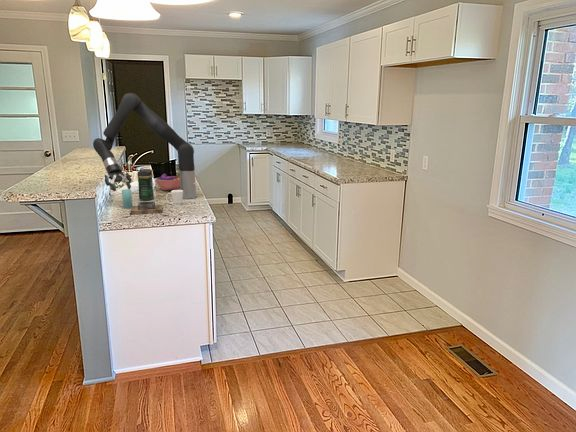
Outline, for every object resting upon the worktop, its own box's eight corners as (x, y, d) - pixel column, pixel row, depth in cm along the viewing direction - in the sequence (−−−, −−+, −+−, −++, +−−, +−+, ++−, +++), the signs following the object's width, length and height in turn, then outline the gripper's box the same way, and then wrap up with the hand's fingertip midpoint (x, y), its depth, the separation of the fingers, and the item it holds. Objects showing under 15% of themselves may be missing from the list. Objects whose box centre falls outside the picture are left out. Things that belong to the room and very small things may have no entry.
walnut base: (162, 207, 247) (162, 200, 246) (161, 213, 236) (161, 205, 234) (132, 209, 243) (132, 201, 242) (130, 214, 232) (129, 206, 231)
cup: (184, 205, 253) (183, 191, 251) (166, 206, 250) (165, 192, 248) (183, 202, 260) (182, 189, 258) (166, 203, 257) (165, 190, 255)
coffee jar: (151, 201, 263) (148, 170, 259) (137, 201, 263) (135, 170, 258) (155, 197, 273) (153, 168, 268) (142, 197, 273) (140, 168, 268)
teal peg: (133, 206, 250) (131, 189, 247) (132, 208, 245) (130, 191, 243) (123, 206, 249) (122, 189, 246) (122, 208, 244) (121, 191, 241)
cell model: (182, 193, 287) (181, 176, 284) (152, 192, 288) (150, 175, 285) (188, 188, 304) (187, 171, 301) (160, 187, 304) (158, 171, 301)
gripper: (101, 164, 246) (111, 187, 241) (125, 162, 256) (136, 184, 251) (98, 172, 251) (108, 195, 246) (122, 169, 261) (132, 191, 256)
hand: (122, 189), depth 248 cm, fingers open, 8 cm apart
